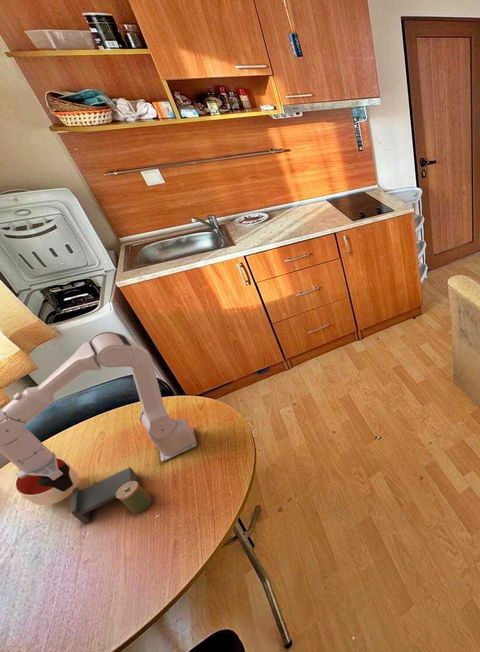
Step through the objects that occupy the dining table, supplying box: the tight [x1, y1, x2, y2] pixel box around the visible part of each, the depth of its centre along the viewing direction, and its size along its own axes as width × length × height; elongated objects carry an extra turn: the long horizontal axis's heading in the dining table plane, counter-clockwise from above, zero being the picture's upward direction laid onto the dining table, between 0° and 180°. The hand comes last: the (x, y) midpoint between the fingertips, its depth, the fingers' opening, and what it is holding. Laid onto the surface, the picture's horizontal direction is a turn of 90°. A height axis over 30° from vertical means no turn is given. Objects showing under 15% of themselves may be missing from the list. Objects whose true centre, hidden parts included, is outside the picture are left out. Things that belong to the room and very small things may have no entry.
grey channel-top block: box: [70, 466, 139, 525], centre depth 103 cm, size 12×8×6 cm, turn 128°
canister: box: [116, 481, 152, 514], centre depth 101 cm, size 5×5×8 cm
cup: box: [14, 456, 80, 506], centre depth 103 cm, size 10×10×10 cm
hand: (60, 482), depth 98 cm, fingers open, 7 cm apart
